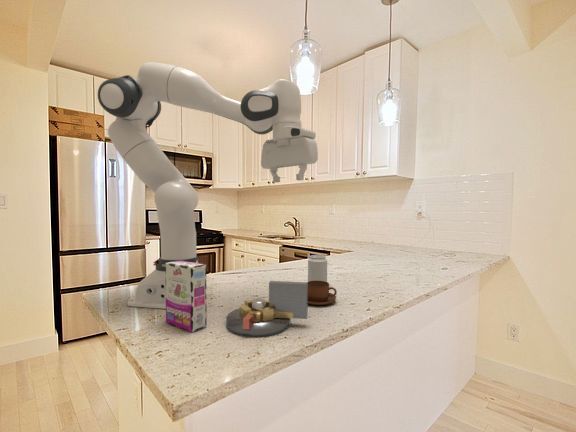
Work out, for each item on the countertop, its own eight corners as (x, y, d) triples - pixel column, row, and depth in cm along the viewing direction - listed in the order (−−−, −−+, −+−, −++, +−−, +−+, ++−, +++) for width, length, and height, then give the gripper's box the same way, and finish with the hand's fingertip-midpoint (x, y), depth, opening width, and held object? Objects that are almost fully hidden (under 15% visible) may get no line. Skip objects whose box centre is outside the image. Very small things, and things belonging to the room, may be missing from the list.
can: (326, 289, 111) (326, 257, 111) (306, 288, 113) (306, 257, 112) (327, 284, 119) (327, 254, 118) (309, 283, 120) (309, 253, 120)
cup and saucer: (333, 296, 104) (333, 278, 103) (339, 308, 92) (339, 288, 91) (298, 296, 104) (298, 278, 103) (300, 308, 92) (300, 288, 91)
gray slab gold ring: (235, 320, 75) (234, 285, 75) (246, 307, 85) (246, 276, 84) (305, 325, 72) (305, 288, 72) (308, 311, 82) (309, 278, 82)
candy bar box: (208, 326, 77) (207, 264, 76) (192, 333, 73) (191, 267, 72) (180, 317, 83) (180, 259, 83) (164, 323, 79) (164, 262, 78)
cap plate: (219, 338, 70) (219, 313, 70) (232, 311, 88) (232, 291, 87) (291, 337, 71) (291, 312, 70) (289, 311, 88) (289, 291, 88)
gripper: (256, 139, 95) (257, 182, 95) (307, 127, 81) (308, 178, 82) (269, 142, 99) (270, 183, 100) (320, 131, 86) (321, 179, 87)
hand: (287, 181), depth 91 cm, fingers open, 8 cm apart
